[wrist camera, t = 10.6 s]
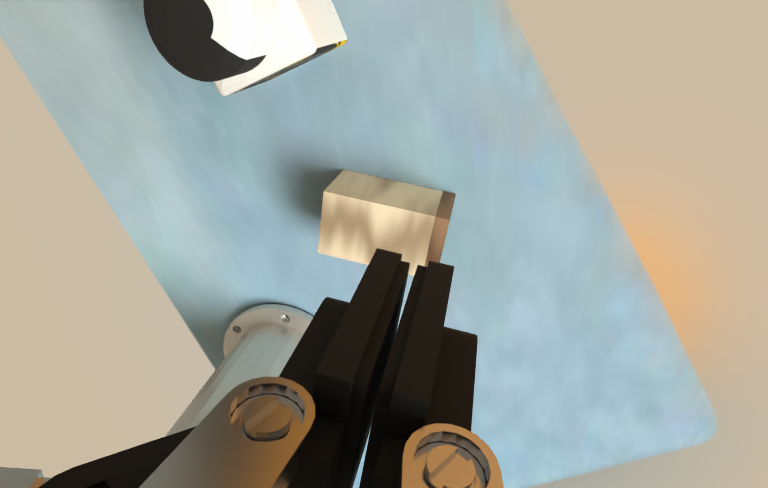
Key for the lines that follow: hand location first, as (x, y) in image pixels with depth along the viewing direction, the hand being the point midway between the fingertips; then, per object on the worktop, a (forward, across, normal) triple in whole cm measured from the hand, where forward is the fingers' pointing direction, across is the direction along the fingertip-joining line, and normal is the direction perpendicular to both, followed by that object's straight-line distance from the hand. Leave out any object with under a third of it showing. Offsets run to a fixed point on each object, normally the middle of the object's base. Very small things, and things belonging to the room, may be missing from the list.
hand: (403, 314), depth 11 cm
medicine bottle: (+27, +14, -3) cm, 31 cm away
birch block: (+25, 0, +10) cm, 27 cm away
